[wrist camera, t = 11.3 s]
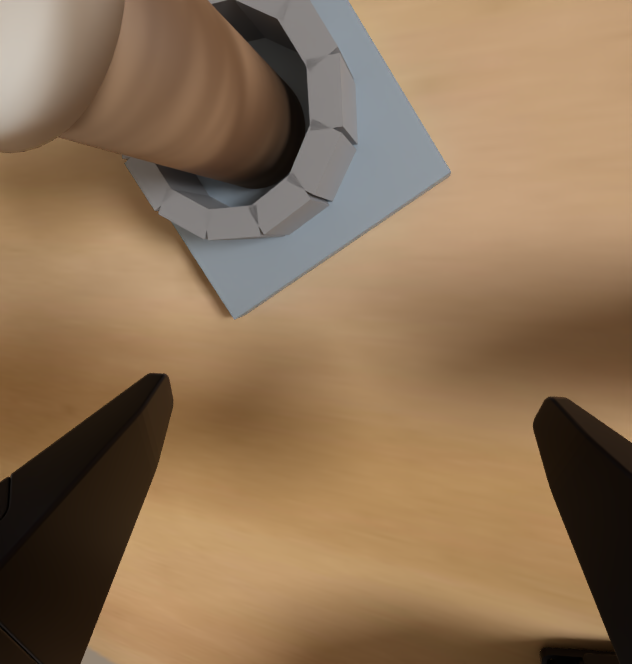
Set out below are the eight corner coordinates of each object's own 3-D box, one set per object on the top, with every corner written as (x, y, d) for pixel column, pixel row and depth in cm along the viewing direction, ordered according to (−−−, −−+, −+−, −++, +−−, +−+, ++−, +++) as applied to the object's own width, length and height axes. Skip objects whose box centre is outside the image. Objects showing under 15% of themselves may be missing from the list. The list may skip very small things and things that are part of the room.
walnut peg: (314, 204, 18) (64, 132, 6) (196, 200, 19) (-201, 136, 7) (322, 52, 16) (9, -475, 4) (193, 60, 18) (-306, -311, 6)
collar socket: (449, 175, 17) (455, 158, 13) (244, 315, 22) (202, 333, 18) (287, -94, 17) (243, -195, 13) (109, 104, 21) (34, 73, 17)
